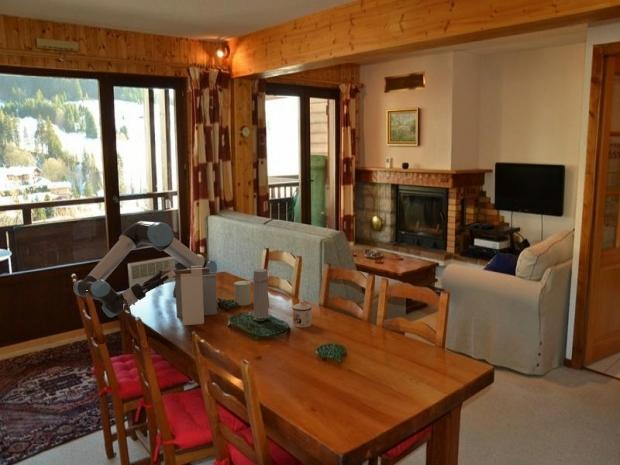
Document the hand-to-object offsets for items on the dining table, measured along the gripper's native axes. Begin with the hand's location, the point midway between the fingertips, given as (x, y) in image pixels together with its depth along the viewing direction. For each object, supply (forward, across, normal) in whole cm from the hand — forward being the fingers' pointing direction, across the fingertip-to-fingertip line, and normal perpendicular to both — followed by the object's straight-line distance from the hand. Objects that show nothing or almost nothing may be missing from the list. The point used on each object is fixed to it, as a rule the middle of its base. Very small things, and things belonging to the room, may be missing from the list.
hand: (174, 269), depth 257 cm
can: (+17, -26, -40) cm, 51 cm away
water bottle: (+22, +6, -44) cm, 49 cm away
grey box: (-5, -12, -28) cm, 31 cm away
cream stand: (-6, 0, -27) cm, 27 cm away
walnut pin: (+3, 0, -6) cm, 6 cm away
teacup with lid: (+38, +20, -52) cm, 67 cm away
